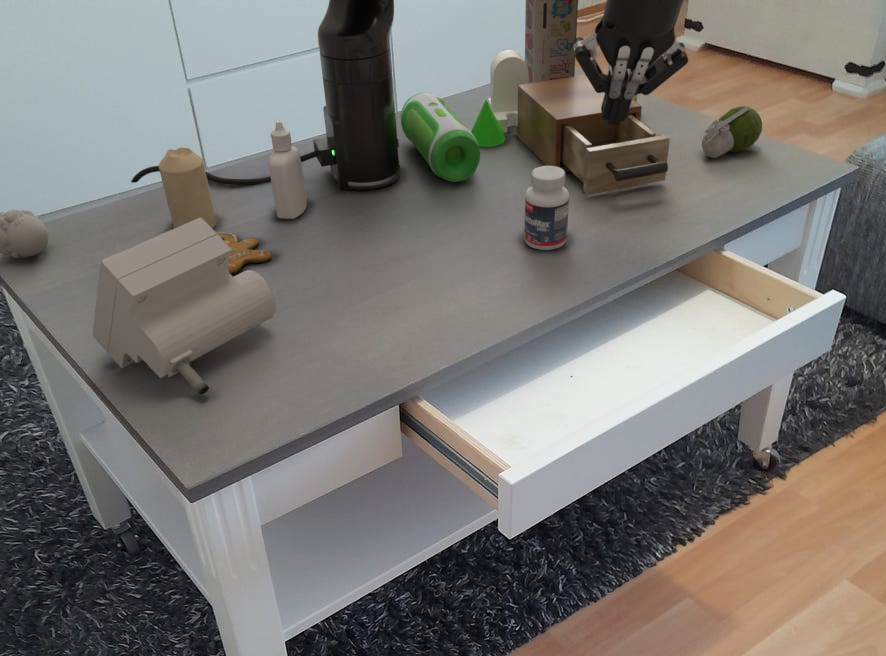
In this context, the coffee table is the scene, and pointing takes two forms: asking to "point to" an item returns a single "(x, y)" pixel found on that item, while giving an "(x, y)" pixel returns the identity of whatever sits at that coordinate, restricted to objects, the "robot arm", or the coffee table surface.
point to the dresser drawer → (613, 154)
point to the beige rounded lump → (22, 234)
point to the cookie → (242, 252)
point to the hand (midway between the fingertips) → (611, 120)
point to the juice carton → (550, 39)
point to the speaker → (440, 137)
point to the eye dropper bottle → (286, 175)
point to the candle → (186, 187)
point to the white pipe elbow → (176, 301)
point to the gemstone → (487, 128)
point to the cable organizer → (506, 86)
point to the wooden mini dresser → (557, 113)
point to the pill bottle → (546, 209)
